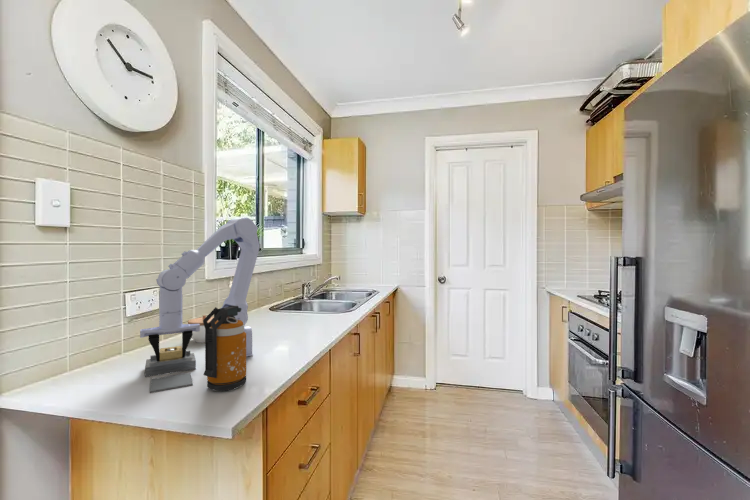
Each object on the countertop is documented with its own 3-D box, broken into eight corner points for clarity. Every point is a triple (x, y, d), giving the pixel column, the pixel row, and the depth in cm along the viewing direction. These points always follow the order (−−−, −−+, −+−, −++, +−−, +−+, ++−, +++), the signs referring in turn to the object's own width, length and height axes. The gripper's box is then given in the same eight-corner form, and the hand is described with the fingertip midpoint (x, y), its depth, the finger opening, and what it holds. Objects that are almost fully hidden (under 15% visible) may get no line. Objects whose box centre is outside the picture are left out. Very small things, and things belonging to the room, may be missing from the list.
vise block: (193, 361, 105) (193, 343, 105) (195, 369, 98) (195, 349, 98) (146, 368, 99) (146, 349, 99) (145, 377, 92) (145, 356, 92)
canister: (253, 381, 89) (254, 304, 89) (221, 399, 79) (221, 311, 78) (225, 377, 92) (226, 302, 92) (191, 393, 81) (191, 309, 81)
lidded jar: (198, 346, 121) (198, 319, 121) (181, 341, 127) (182, 316, 127) (225, 339, 130) (225, 314, 130) (209, 335, 136) (209, 311, 136)
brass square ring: (181, 355, 102) (181, 345, 102) (182, 361, 97) (182, 350, 97) (159, 358, 99) (159, 348, 99) (159, 364, 95) (159, 353, 95)
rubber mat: (190, 374, 94) (190, 372, 94) (192, 385, 87) (192, 383, 87) (151, 380, 90) (151, 378, 90) (149, 392, 82) (149, 391, 82)
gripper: (198, 307, 105) (198, 351, 106) (141, 311, 98) (141, 359, 98) (200, 310, 99) (200, 358, 99) (139, 315, 92) (139, 366, 92)
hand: (171, 359), depth 98 cm, fingers closed on brass square ring, 5 cm apart
